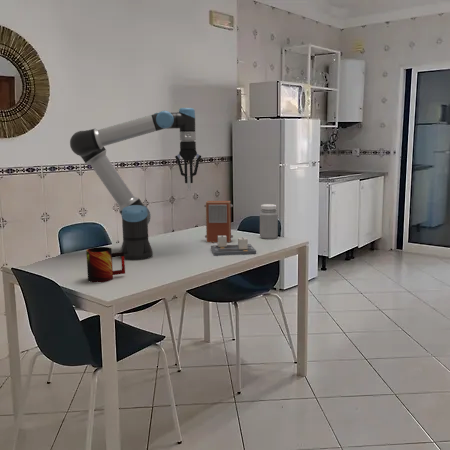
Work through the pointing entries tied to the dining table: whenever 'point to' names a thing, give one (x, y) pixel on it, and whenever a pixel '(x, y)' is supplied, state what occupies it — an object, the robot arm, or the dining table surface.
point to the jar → (268, 221)
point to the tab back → (222, 241)
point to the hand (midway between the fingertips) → (189, 190)
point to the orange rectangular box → (218, 220)
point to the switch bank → (232, 250)
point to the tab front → (242, 243)
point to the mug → (102, 264)
